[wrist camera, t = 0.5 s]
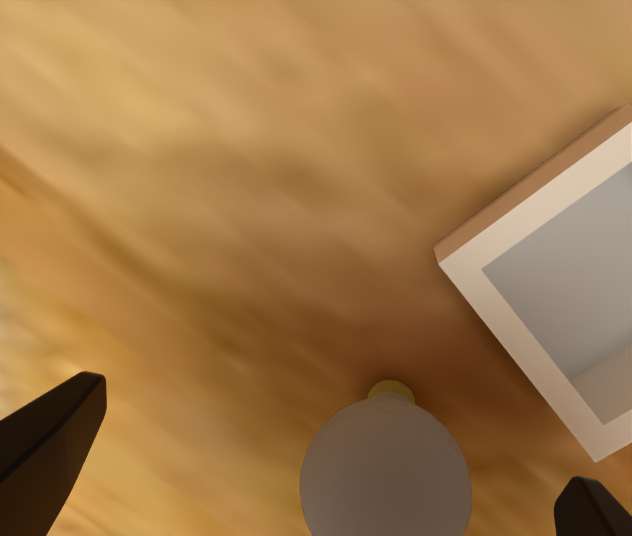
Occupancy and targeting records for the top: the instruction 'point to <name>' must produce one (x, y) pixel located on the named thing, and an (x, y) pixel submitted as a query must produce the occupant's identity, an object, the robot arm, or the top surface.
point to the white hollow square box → (562, 280)
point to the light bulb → (385, 471)
